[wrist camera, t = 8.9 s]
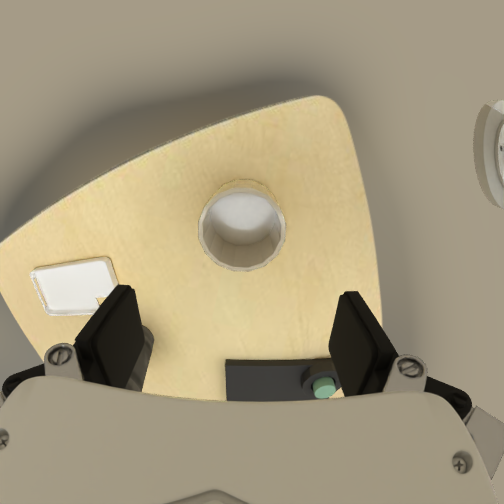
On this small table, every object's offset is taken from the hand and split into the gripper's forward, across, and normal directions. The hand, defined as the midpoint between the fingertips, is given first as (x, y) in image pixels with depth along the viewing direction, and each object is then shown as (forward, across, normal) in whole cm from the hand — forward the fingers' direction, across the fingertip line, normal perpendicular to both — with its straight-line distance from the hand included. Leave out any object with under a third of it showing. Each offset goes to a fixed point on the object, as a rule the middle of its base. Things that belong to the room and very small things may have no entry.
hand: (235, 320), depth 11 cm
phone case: (+18, +23, +10) cm, 31 cm away
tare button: (+16, -12, +22) cm, 30 cm away
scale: (+18, -6, +27) cm, 33 cm away
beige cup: (+18, 0, 0) cm, 18 cm away
